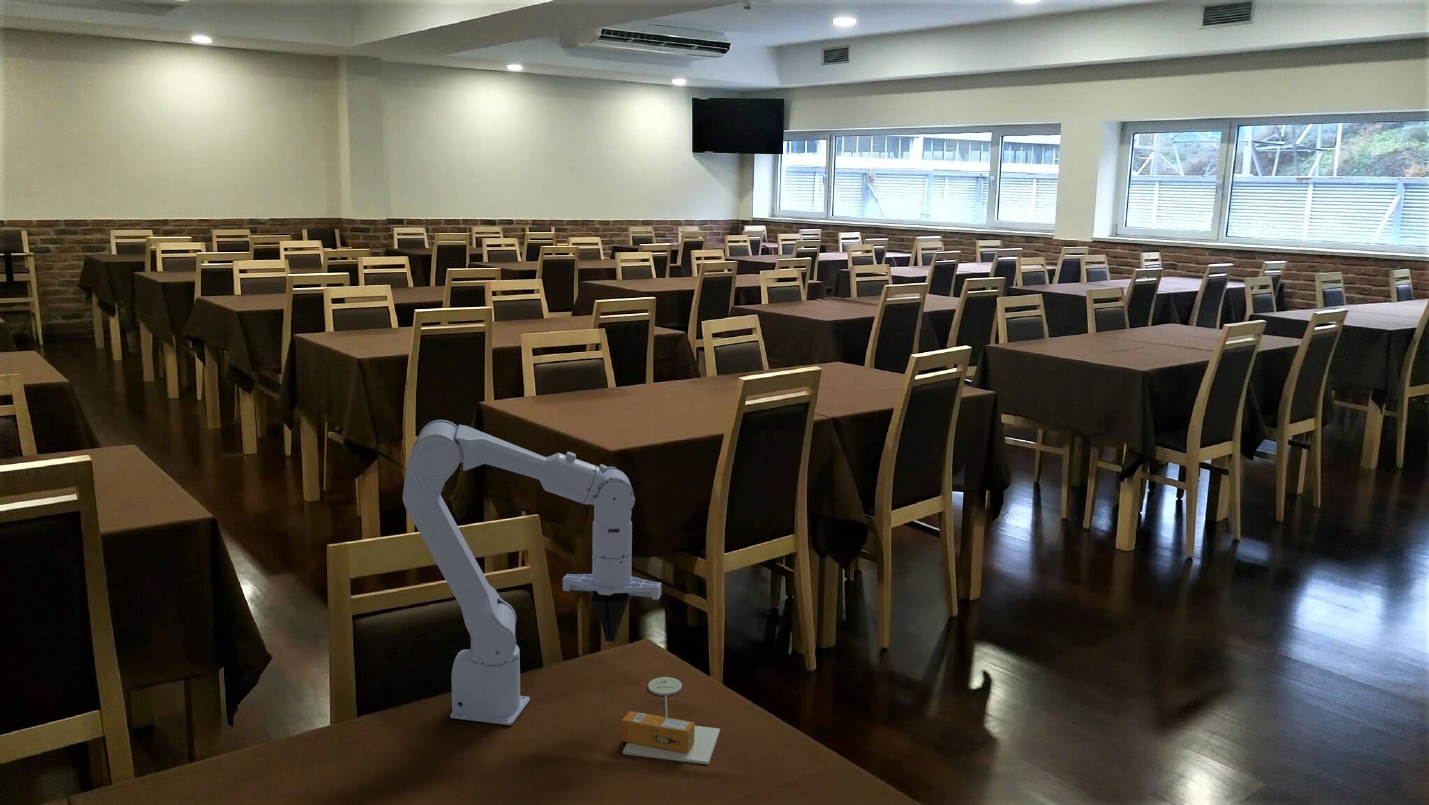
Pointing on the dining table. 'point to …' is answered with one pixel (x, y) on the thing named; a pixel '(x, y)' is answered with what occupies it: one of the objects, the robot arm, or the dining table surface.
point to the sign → (665, 688)
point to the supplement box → (658, 731)
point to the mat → (697, 753)
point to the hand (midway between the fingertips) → (611, 638)
